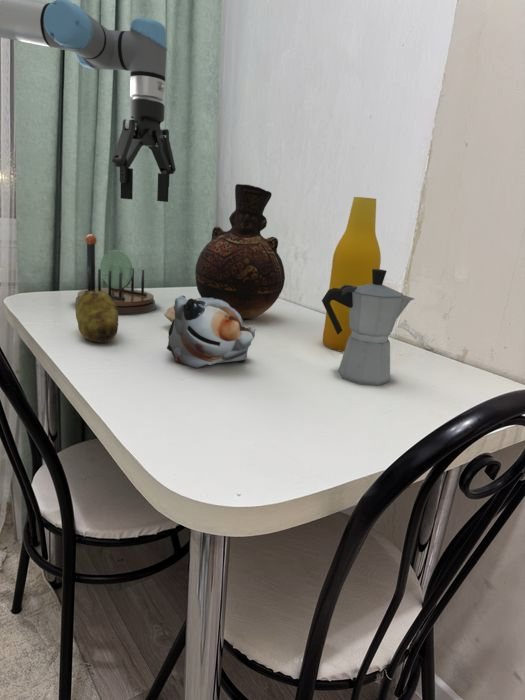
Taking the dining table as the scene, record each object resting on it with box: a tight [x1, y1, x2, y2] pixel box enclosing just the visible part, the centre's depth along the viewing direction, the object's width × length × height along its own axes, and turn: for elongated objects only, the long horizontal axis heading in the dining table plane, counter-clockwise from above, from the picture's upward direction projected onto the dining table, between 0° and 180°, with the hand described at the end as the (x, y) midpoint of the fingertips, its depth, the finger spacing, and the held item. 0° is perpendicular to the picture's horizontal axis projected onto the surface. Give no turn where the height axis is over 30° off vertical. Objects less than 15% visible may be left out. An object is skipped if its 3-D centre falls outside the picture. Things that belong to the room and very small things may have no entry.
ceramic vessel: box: [194, 183, 286, 319], centre depth 116 cm, size 21×18×30 cm
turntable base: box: [75, 296, 156, 316], centre depth 120 cm, size 18×18×2 cm
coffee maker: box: [321, 268, 415, 387], centre depth 82 cm, size 15×9×18 cm, turn 92°
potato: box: [75, 291, 119, 344], centre depth 93 cm, size 8×13×8 cm, turn 9°
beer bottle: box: [322, 196, 382, 353], centre depth 98 cm, size 9×9×29 cm
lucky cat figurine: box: [166, 294, 256, 369], centre depth 83 cm, size 15×12×14 cm
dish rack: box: [77, 233, 155, 306], centre depth 117 cm, size 18×17×14 cm
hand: (145, 200), depth 118 cm, fingers open, 13 cm apart
